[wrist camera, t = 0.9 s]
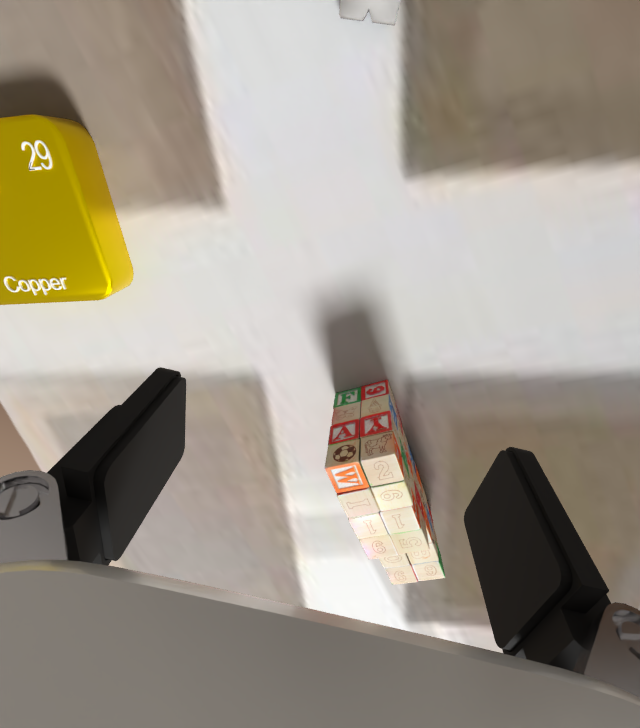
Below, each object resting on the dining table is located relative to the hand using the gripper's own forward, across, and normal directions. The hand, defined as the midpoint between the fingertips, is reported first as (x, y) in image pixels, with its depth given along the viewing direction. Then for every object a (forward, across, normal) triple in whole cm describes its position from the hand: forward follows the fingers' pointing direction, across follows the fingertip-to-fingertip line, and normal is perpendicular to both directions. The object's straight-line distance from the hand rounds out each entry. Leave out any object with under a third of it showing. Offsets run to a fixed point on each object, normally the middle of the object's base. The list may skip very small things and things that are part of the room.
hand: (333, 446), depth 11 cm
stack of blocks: (+28, -10, +24) cm, 37 cm away
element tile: (+28, +30, +4) cm, 41 cm away
